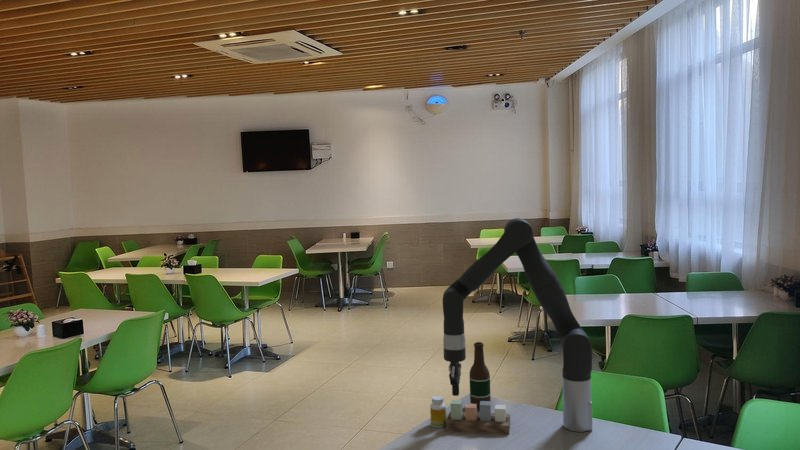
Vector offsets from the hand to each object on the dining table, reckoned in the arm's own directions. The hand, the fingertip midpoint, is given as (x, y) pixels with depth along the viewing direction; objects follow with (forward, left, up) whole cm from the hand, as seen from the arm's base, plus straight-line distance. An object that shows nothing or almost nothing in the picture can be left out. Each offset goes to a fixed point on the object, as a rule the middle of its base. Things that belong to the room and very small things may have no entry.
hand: (455, 394), depth 211 cm
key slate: (-10, 0, -8) cm, 13 cm away
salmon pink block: (-5, 0, -10) cm, 11 cm away
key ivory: (-15, 0, -10) cm, 18 cm away
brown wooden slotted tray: (-8, 0, -11) cm, 13 cm away
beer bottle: (-7, -19, -11) cm, 23 cm away
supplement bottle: (+6, 0, -11) cm, 13 cm away
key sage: (0, 0, -9) cm, 9 cm away
